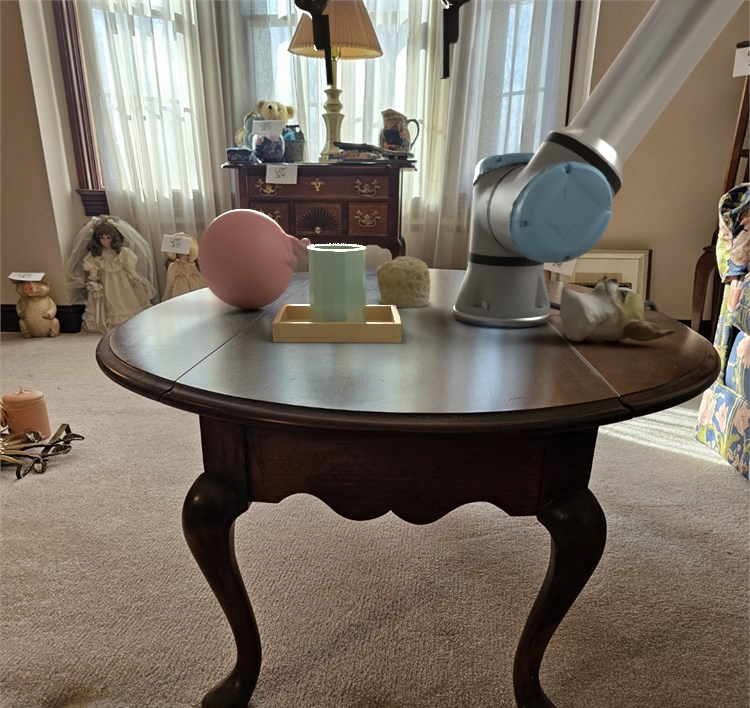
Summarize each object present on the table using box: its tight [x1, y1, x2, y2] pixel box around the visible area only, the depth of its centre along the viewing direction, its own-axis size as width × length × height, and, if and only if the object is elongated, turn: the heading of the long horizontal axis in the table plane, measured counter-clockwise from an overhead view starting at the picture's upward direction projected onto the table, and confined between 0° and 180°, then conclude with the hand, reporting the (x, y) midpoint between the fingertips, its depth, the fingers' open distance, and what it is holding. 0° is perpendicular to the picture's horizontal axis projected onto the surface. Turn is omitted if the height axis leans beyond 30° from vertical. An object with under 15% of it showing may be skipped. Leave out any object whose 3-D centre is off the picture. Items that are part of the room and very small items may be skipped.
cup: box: [307, 243, 367, 322], centre depth 93 cm, size 8×8×11 cm
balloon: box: [197, 208, 314, 310], centre depth 107 cm, size 15×20×15 cm
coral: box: [376, 255, 431, 309], centre depth 115 cm, size 9×9×8 cm
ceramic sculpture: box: [559, 277, 676, 342], centre depth 91 cm, size 11×9×15 cm
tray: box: [271, 304, 403, 344], centre depth 95 cm, size 18×14×3 cm
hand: (387, 81), depth 77 cm, fingers open, 13 cm apart
